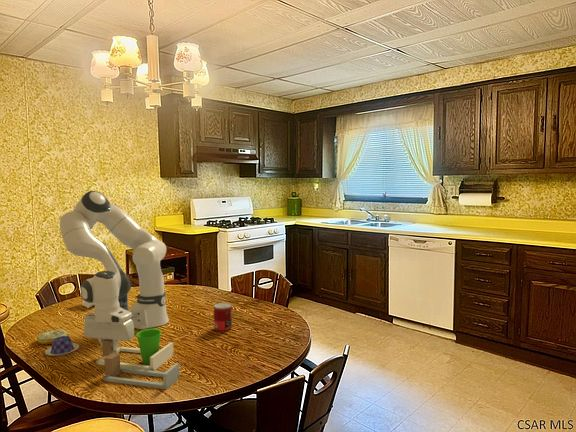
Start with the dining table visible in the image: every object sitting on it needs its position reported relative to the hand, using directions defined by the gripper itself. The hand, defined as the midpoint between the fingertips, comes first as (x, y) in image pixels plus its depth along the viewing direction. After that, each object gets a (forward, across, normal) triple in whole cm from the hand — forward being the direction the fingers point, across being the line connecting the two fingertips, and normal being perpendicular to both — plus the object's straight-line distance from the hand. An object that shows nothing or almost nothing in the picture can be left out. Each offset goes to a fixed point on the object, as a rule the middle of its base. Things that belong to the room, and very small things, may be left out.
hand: (109, 349), depth 152 cm
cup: (+3, +18, 0) cm, 18 cm away
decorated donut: (+3, -35, +8) cm, 36 cm away
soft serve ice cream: (+3, -54, +55) cm, 77 cm away
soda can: (+3, -30, +46) cm, 55 cm away
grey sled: (+3, +23, -13) cm, 26 cm away
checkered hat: (+3, -23, +1) cm, 23 cm away
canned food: (+3, +31, +37) cm, 48 cm away
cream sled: (+3, +11, 0) cm, 12 cm away
